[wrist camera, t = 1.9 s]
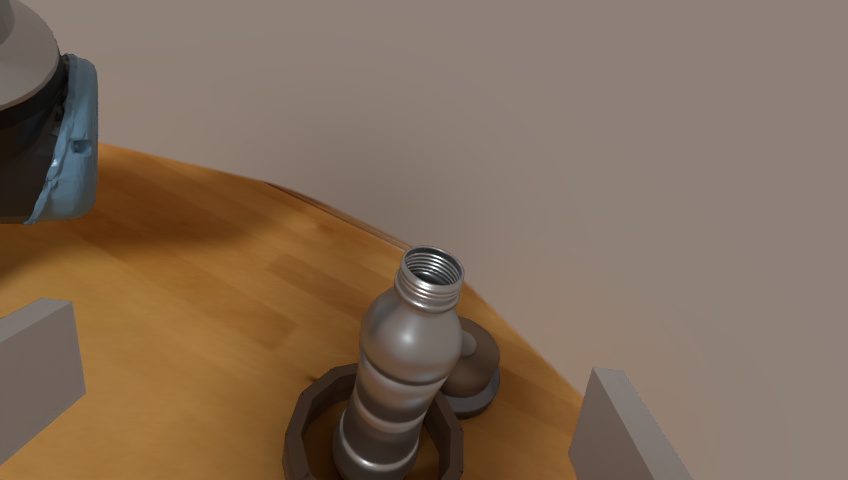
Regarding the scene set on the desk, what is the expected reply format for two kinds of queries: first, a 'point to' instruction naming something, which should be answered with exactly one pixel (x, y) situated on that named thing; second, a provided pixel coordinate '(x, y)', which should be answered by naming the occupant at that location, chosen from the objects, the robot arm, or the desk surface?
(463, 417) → the base
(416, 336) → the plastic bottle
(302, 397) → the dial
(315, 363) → the desk surface
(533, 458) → the desk surface
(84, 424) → the desk surface
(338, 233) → the desk surface
